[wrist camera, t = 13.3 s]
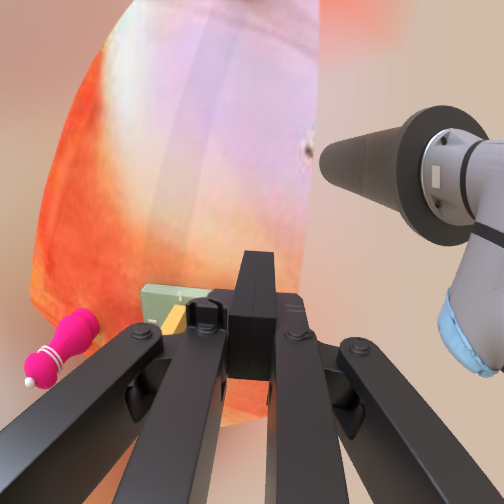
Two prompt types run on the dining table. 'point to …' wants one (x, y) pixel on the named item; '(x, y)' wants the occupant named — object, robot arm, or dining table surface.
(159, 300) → the plate
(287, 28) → the dining table surface
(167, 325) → the handle
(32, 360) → the pepper mill
